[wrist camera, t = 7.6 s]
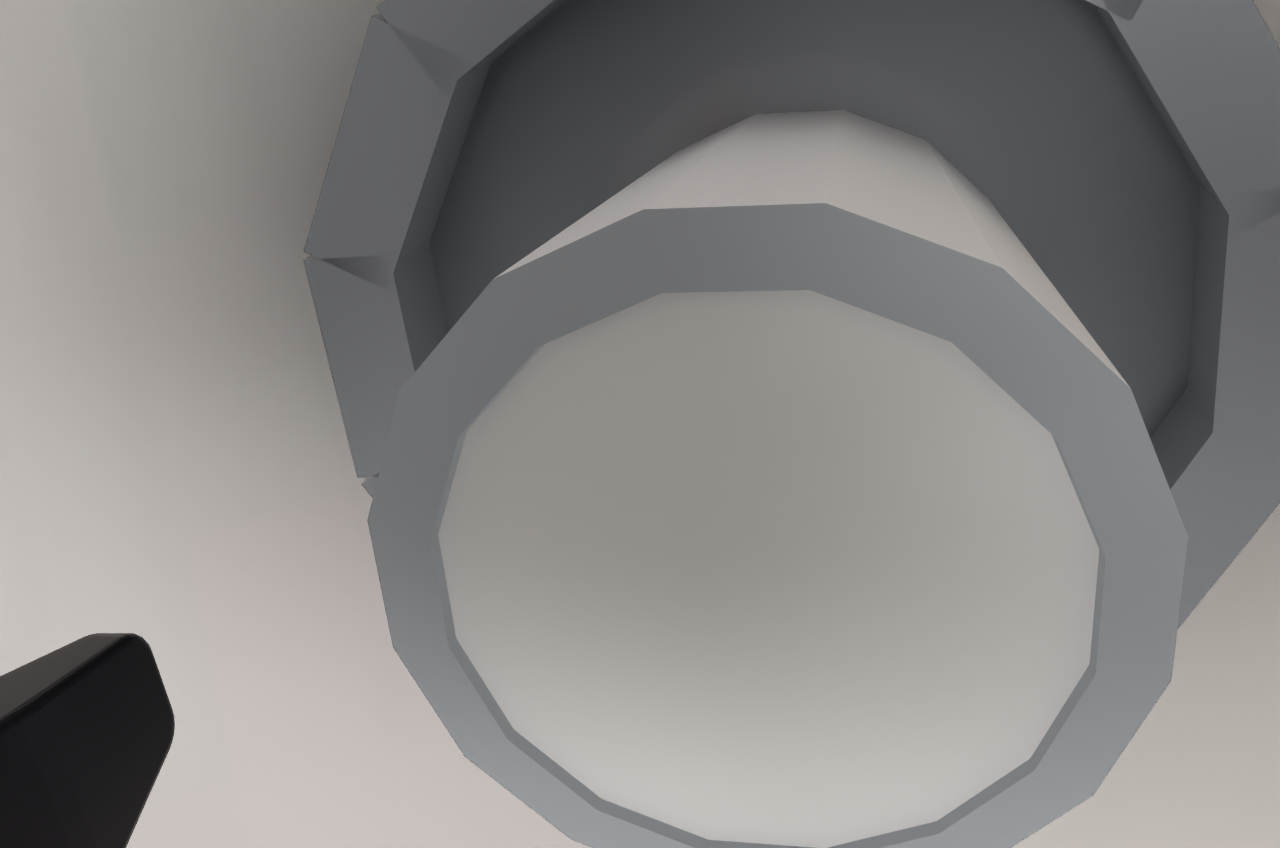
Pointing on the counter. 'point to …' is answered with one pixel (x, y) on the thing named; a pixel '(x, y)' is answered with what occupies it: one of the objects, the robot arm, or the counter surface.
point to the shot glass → (781, 513)
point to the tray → (877, 90)
